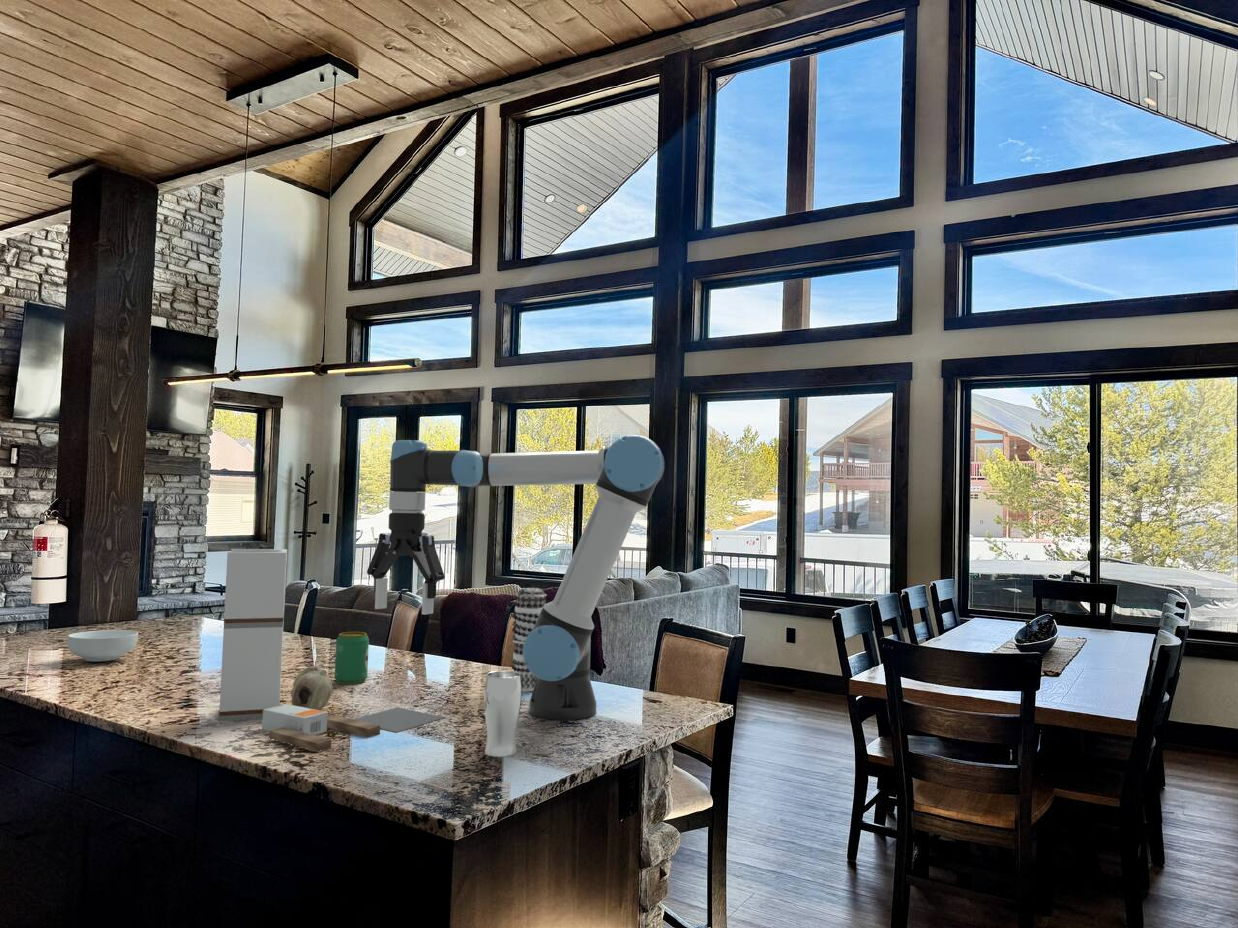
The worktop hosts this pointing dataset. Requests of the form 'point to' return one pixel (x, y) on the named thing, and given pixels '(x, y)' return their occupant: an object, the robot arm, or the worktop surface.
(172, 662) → the worktop surface
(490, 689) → the beer glass
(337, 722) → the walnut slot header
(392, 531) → the robot arm
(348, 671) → the beverage can
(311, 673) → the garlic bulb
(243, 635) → the white tall block
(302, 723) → the skincare box
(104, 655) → the cereal bowl
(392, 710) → the charcoal mat
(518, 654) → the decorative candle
